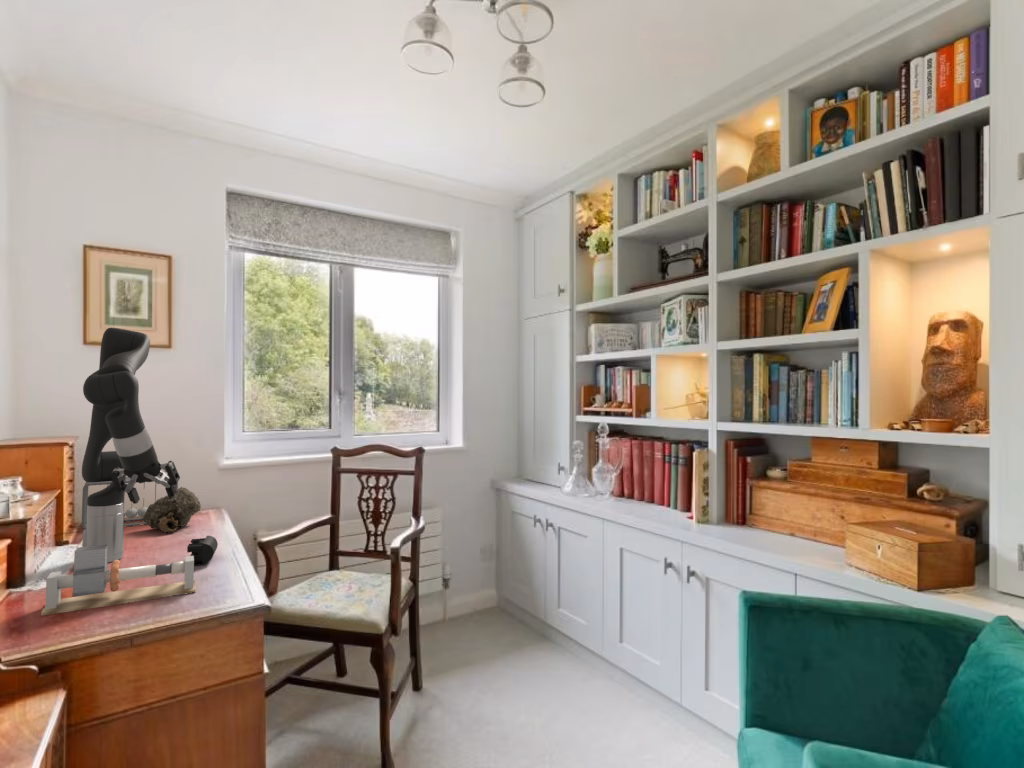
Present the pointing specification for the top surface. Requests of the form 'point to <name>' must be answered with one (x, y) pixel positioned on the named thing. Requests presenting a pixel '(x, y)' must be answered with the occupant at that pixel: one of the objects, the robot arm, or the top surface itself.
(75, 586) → the grooved slider block
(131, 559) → the top surface
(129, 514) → the newton's cradle
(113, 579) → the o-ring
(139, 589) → the base board
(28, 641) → the top surface
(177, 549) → the top surface
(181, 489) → the rock
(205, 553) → the end cap
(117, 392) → the robot arm
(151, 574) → the rod
